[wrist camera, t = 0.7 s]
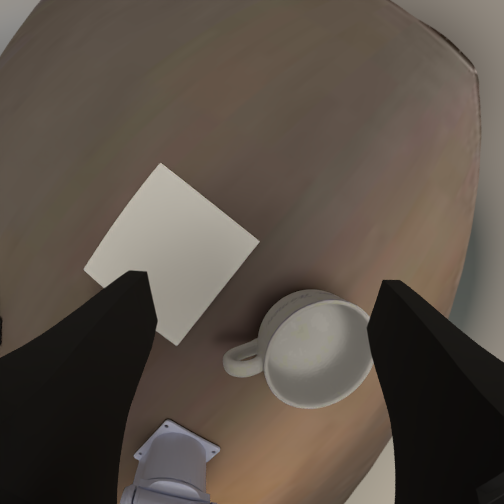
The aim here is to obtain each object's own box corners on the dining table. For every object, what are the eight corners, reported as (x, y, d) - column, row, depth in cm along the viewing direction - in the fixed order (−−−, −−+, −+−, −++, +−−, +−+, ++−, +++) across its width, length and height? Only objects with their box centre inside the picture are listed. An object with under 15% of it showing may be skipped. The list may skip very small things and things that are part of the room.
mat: (177, 344, 30) (176, 346, 29) (85, 269, 28) (83, 269, 28) (259, 241, 30) (259, 241, 30) (161, 163, 28) (160, 162, 28)
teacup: (352, 287, 32) (389, 302, 24) (336, 374, 32) (364, 407, 24) (227, 277, 30) (230, 292, 22) (218, 372, 31) (220, 412, 23)
